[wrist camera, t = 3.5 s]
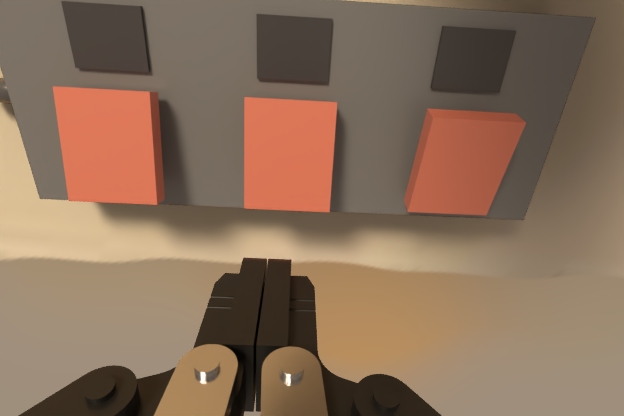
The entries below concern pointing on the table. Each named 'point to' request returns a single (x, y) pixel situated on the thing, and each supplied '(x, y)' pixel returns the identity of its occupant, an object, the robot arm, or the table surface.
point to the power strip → (292, 84)
